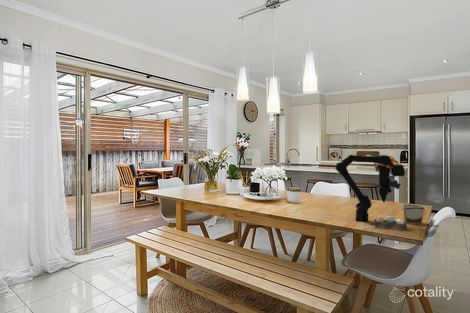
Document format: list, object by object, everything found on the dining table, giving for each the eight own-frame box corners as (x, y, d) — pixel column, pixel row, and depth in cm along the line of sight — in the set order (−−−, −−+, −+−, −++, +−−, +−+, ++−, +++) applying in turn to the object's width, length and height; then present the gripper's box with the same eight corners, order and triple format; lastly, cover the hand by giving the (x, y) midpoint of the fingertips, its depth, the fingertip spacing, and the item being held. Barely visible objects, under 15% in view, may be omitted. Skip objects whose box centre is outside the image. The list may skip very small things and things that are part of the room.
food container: (417, 220, 170) (417, 204, 170) (424, 223, 164) (424, 206, 164) (397, 220, 170) (397, 204, 169) (403, 223, 164) (404, 206, 163)
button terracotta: (376, 224, 157) (376, 218, 157) (376, 222, 161) (376, 217, 161) (384, 225, 156) (384, 219, 156) (383, 223, 159) (383, 217, 159)
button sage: (386, 222, 155) (386, 216, 155) (385, 220, 159) (386, 215, 159) (394, 223, 154) (394, 217, 154) (393, 221, 157) (393, 216, 157)
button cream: (396, 226, 153) (396, 220, 153) (395, 224, 157) (395, 218, 157) (404, 227, 152) (404, 221, 152) (403, 225, 155) (403, 219, 155)
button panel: (375, 227, 155) (375, 222, 155) (374, 223, 164) (374, 218, 163) (407, 230, 149) (407, 225, 149) (404, 226, 157) (404, 221, 157)
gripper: (402, 178, 155) (401, 206, 155) (397, 175, 172) (397, 200, 172) (379, 177, 159) (379, 204, 160) (377, 174, 176) (377, 198, 177)
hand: (383, 201), depth 167 cm, fingers closed
